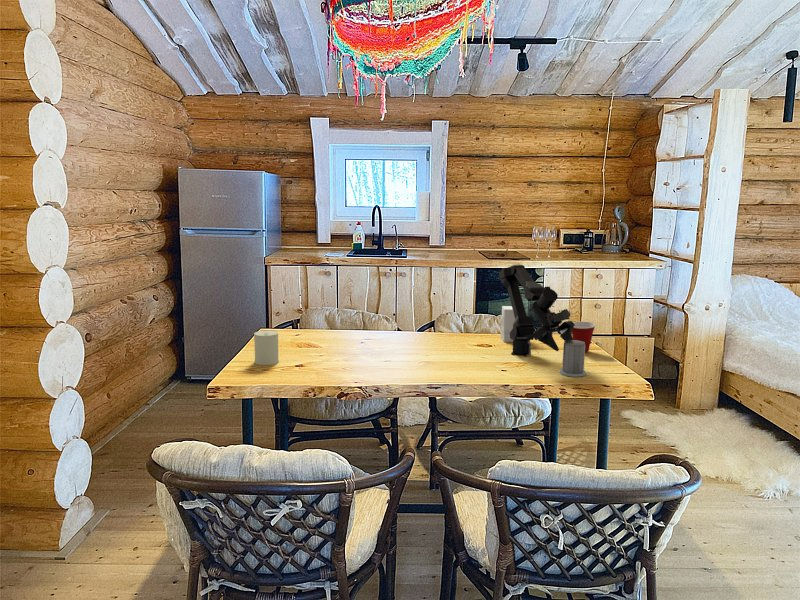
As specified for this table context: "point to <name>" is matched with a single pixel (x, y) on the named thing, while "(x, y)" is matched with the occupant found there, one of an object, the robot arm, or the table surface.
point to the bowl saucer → (573, 374)
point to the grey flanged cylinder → (573, 357)
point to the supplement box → (507, 323)
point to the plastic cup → (583, 333)
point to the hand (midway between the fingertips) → (565, 348)
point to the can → (266, 347)
